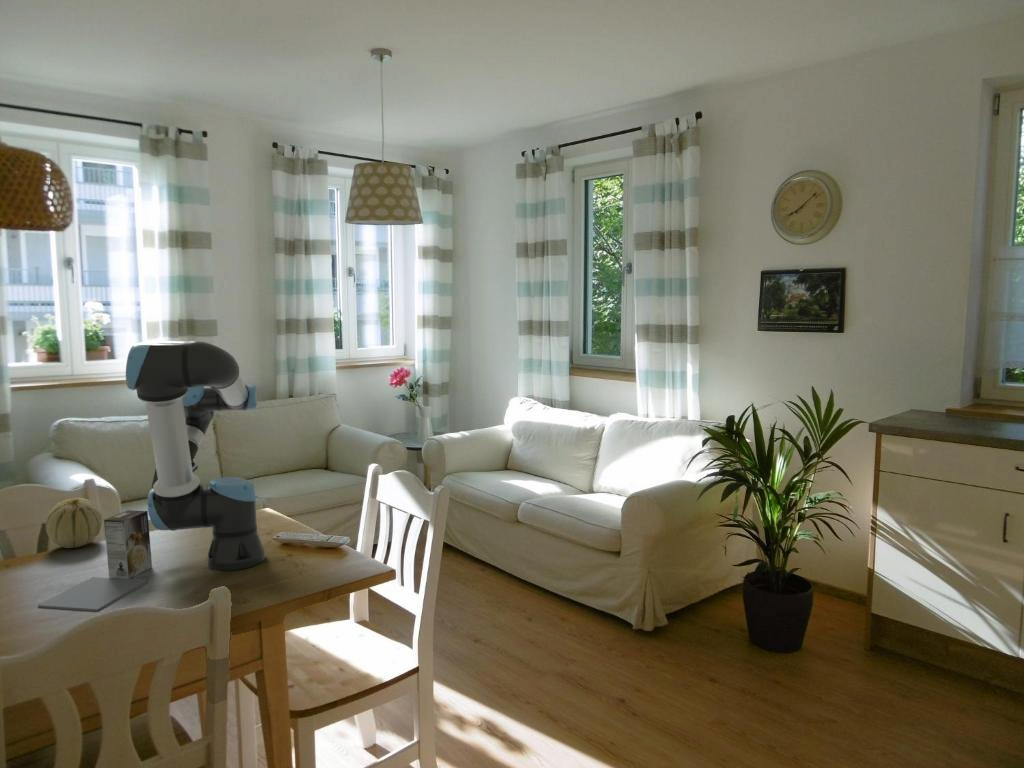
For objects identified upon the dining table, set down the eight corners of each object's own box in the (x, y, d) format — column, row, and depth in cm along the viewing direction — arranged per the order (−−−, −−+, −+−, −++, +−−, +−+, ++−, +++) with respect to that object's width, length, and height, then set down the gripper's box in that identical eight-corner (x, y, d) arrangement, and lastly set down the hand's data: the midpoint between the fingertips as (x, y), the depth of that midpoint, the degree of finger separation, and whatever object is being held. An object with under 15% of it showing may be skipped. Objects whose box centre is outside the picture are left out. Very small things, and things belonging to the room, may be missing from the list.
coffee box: (132, 565, 202) (128, 509, 200) (152, 567, 200) (148, 510, 199) (107, 578, 193) (103, 519, 191) (129, 579, 192) (124, 520, 190)
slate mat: (147, 582, 190) (147, 580, 190) (97, 611, 172) (97, 609, 172) (92, 578, 192) (92, 577, 192) (38, 607, 175) (37, 605, 175)
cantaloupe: (80, 536, 228) (77, 489, 226) (115, 541, 223) (111, 493, 221) (35, 551, 214) (30, 501, 212) (70, 557, 209) (66, 506, 207)
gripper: (211, 451, 223) (181, 520, 208) (172, 450, 225) (140, 518, 211) (200, 437, 217) (168, 507, 202) (160, 436, 219) (126, 505, 205)
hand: (154, 513), depth 207 cm, fingers closed
